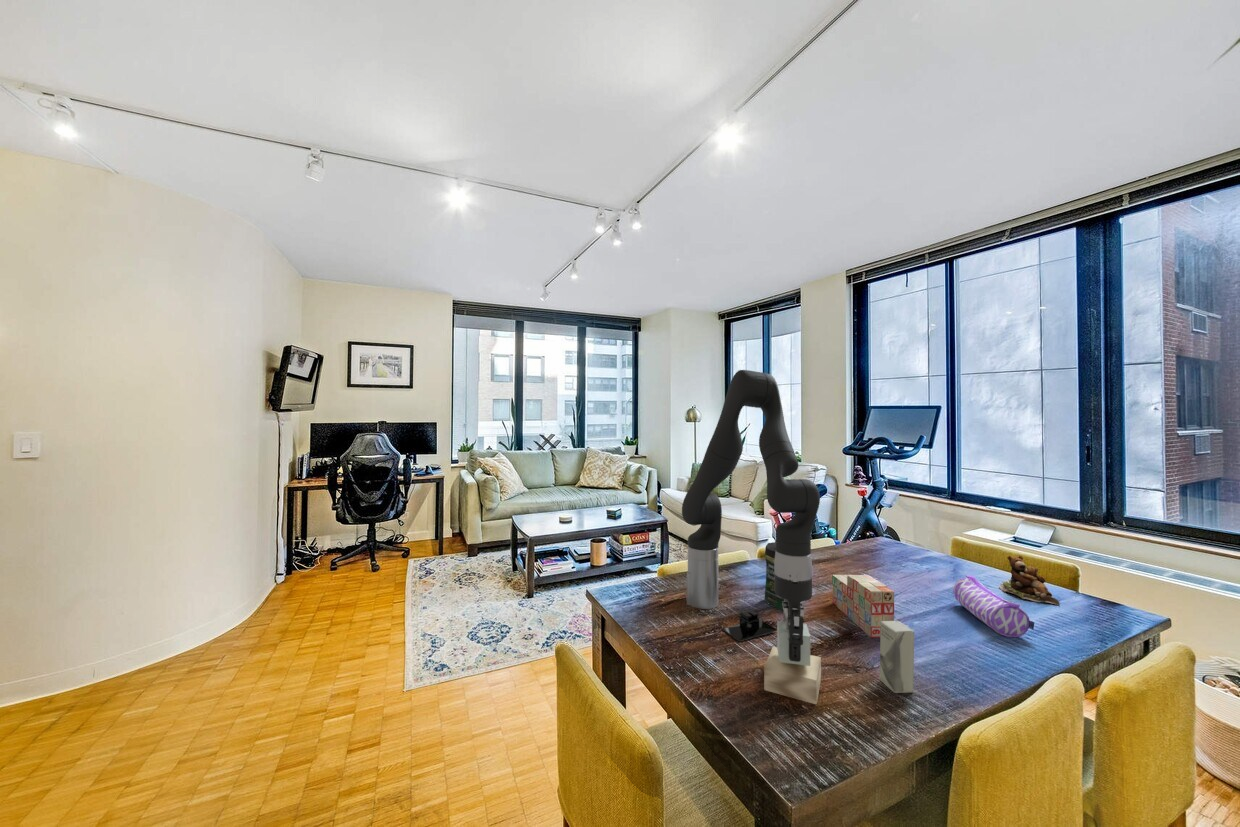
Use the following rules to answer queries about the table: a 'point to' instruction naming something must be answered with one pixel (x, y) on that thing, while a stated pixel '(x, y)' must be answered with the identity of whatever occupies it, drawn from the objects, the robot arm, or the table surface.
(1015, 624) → the pencil case
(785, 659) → the sage cube
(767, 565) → the coffee jar
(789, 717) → the table surface
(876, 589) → the stack of blocks
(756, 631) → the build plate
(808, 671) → the oak block
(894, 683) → the box
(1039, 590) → the bear figurine
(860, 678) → the table surface
